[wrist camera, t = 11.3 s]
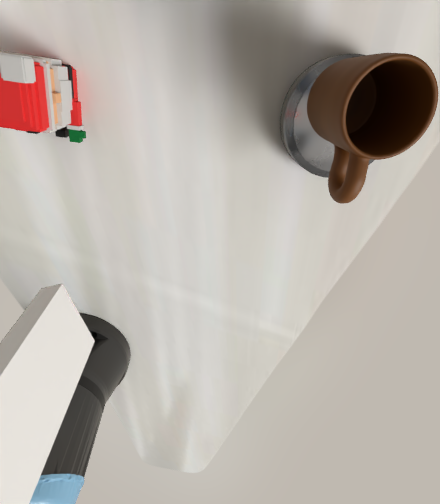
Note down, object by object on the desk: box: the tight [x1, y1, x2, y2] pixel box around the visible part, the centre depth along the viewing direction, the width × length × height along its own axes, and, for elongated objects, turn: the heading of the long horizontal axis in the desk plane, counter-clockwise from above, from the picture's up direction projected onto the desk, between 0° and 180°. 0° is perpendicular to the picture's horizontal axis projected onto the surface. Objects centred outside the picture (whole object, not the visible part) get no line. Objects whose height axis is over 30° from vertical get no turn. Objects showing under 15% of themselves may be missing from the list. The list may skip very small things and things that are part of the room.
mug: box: [307, 53, 438, 203], centre depth 29 cm, size 12×8×9 cm, turn 169°
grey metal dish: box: [280, 54, 374, 177], centre depth 35 cm, size 12×12×3 cm
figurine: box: [0, 50, 86, 143], centre depth 28 cm, size 8×7×12 cm
